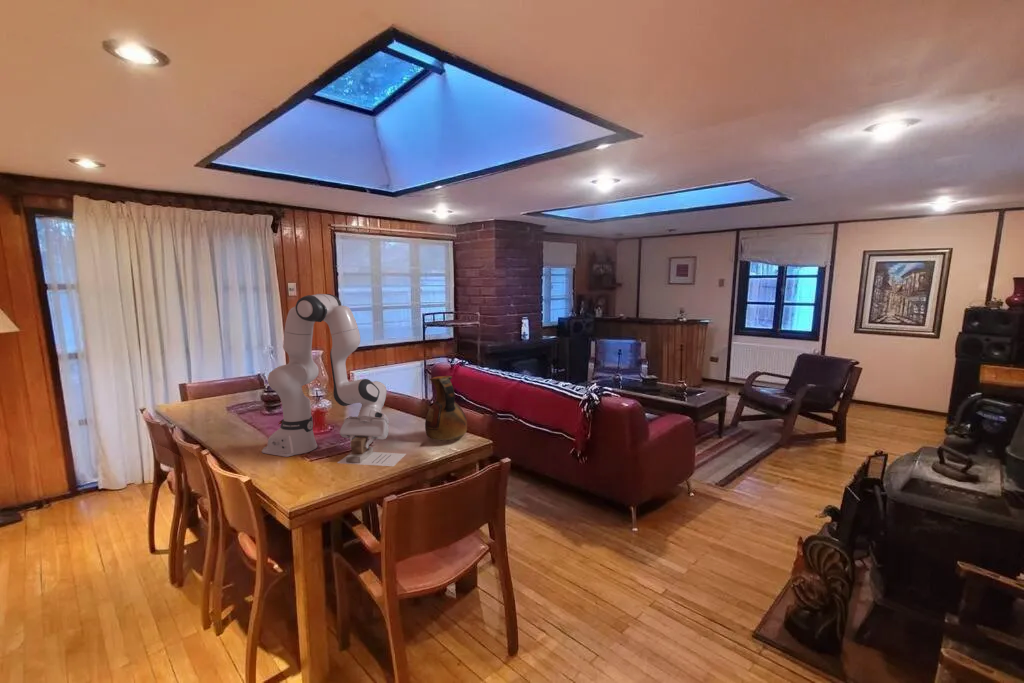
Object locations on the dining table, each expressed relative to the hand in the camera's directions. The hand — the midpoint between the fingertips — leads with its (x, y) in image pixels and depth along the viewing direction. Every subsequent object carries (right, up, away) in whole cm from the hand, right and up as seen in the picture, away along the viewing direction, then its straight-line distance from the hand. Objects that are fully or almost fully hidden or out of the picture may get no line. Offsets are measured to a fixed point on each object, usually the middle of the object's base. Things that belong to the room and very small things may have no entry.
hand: (358, 447), depth 181 cm
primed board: (+6, -6, +1) cm, 8 cm away
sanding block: (0, -4, +1) cm, 5 cm away
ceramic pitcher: (+32, -2, +28) cm, 42 cm away
